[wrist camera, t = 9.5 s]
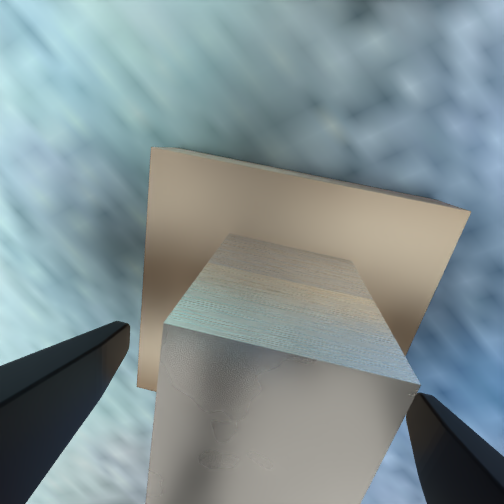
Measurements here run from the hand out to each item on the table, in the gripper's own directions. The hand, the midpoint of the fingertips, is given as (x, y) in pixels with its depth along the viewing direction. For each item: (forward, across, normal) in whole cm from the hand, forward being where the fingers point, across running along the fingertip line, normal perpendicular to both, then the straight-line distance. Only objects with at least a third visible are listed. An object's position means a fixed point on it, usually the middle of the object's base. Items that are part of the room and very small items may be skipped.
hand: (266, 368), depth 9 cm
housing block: (+3, 0, 0) cm, 3 cm away
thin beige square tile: (+6, 0, 0) cm, 6 cm away
